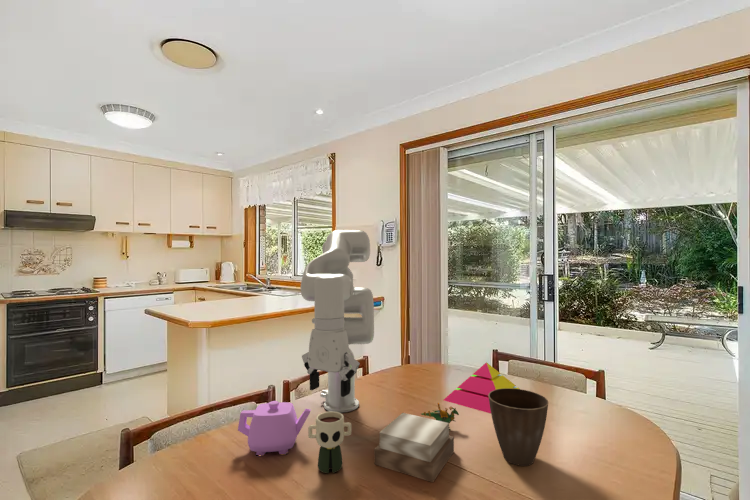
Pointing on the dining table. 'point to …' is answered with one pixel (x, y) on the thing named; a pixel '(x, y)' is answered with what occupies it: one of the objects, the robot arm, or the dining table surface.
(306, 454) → the dining table surface
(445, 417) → the figurine
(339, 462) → the character mug
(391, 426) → the grey stacked block
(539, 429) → the plant pot
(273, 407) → the teapot
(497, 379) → the pyramid toy
